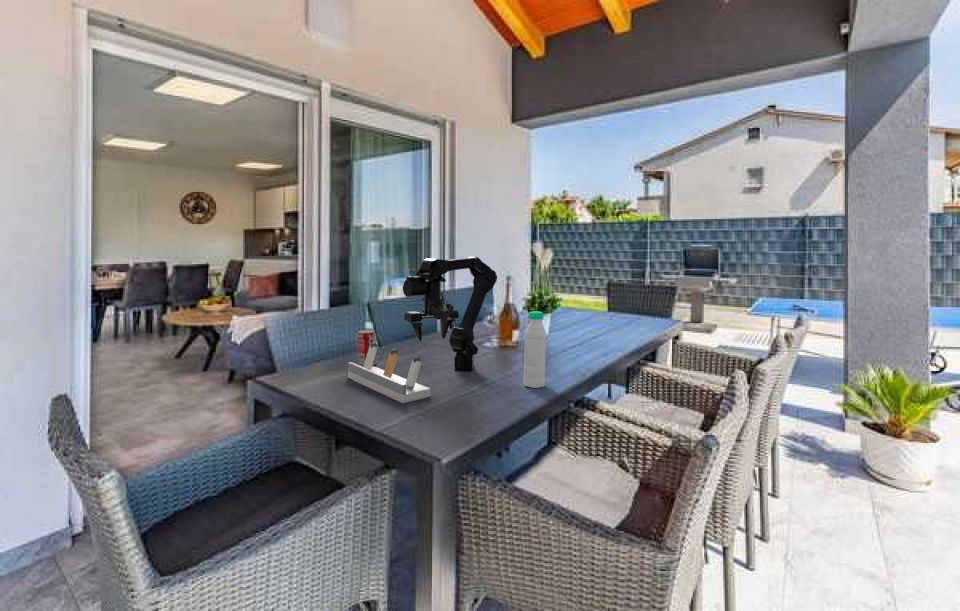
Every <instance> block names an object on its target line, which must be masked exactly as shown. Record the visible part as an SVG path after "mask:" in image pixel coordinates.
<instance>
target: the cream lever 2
mask: <svg viewBox="0 0 960 611" xmlns="http://www.w3.org/2000/svg"><path fill="white" fill-rule="evenodd" d="M421 365H422V359H421V357H420V356H414V357H413V359H412V360H411V364H410V366H409V371H408V374H407V377H406V379H407V380H406V383H405V384H406V387H407V388H409V389H412V390H413V389H414V386H415V383H417V379H418V375H419V373H420V368H421Z"/></svg>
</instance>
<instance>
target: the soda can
mask: <svg viewBox="0 0 960 611" xmlns="http://www.w3.org/2000/svg"><path fill="white" fill-rule="evenodd" d="M376 338H377V335H376V333H375V330H373V329H360V330H358V331H357V334H356V354H357V365H360V366H362V367H363V366H364V363H365V360H366V356H367V353H368V350H369V346H370V345H371V343H373V342H375V343H377V339H376ZM376 363H377V354H376V355H375V358H374V361H373V365H372V366H375V365H376Z"/></svg>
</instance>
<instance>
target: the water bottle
mask: <svg viewBox="0 0 960 611" xmlns="http://www.w3.org/2000/svg"><path fill="white" fill-rule="evenodd" d="M528 320H529V323H528V325H527V328H526V330H525V332H524V337H525V338H524V348H523V349H524V351H523V352H524V354H523V355H524V356H523V357H524V358H523V359H524V365H523V386H524V385H525V386H529V387H540V386H544V387H545V385H546V377H545V373H546V366H545V365H546V357H547V354H546V353H547V341H546V340H547V331H546V330H545V326H544V325H543V320H544V312H542V311H539V310H538V311H537V310H534V311H530V312H528ZM525 386H524V387H525Z"/></svg>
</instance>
